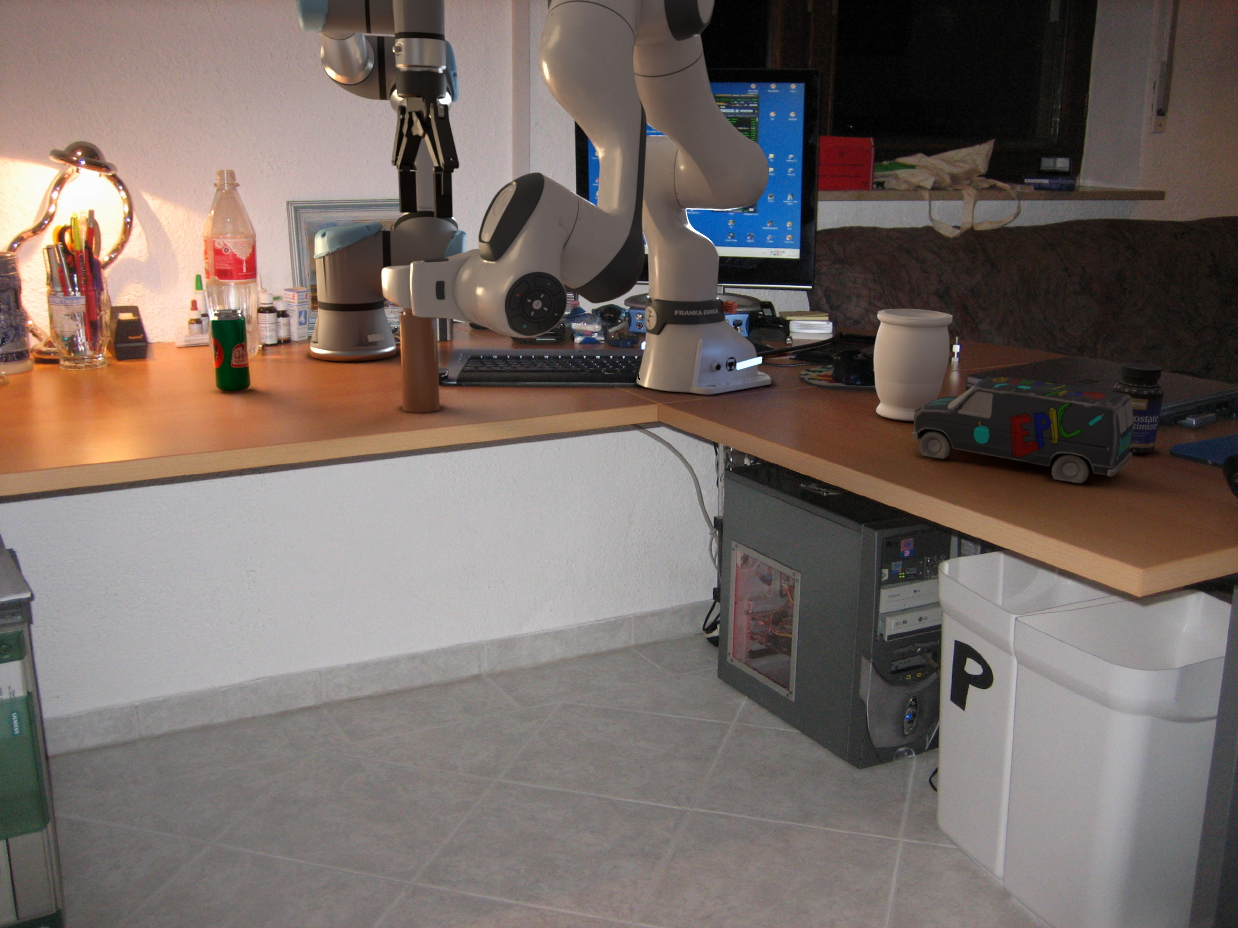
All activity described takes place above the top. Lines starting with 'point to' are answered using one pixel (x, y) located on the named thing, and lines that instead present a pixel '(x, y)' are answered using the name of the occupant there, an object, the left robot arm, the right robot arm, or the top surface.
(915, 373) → the jar
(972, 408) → the toy van
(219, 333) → the soda can
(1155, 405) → the pill bottle
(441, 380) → the lid
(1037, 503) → the top surface
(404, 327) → the screw-top jar
